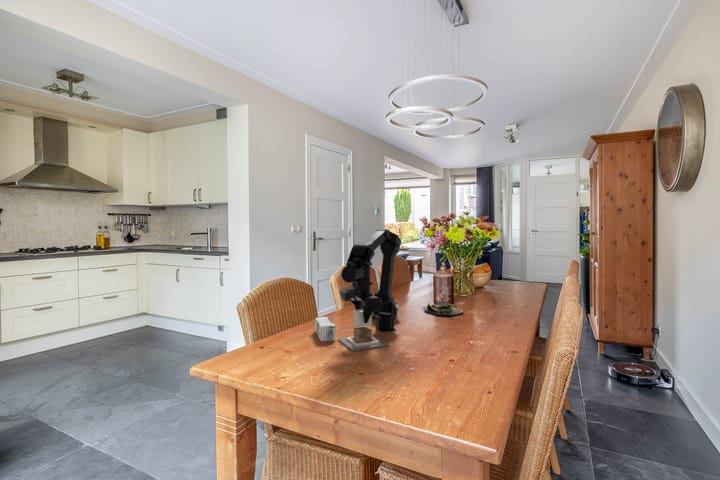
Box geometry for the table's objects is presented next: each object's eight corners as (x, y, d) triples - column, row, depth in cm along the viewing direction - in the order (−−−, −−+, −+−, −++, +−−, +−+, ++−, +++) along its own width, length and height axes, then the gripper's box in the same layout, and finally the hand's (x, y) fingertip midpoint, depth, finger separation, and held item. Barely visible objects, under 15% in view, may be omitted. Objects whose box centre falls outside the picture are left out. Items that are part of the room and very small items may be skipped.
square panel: (371, 335, 147) (371, 332, 147) (388, 346, 135) (388, 342, 134) (337, 340, 141) (337, 336, 141) (352, 351, 129) (352, 347, 129)
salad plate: (445, 306, 200) (445, 298, 200) (472, 313, 185) (472, 304, 185) (417, 311, 189) (417, 302, 189) (443, 319, 174) (443, 309, 174)
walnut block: (365, 338, 141) (365, 325, 141) (371, 342, 137) (371, 328, 136) (353, 340, 139) (353, 327, 139) (359, 344, 135) (359, 330, 134)
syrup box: (328, 330, 155) (336, 340, 141) (314, 331, 153) (321, 342, 139) (328, 316, 155) (336, 325, 141) (314, 317, 153) (321, 326, 139)
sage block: (365, 321, 141) (365, 308, 141) (371, 324, 136) (371, 311, 136) (353, 323, 139) (353, 309, 139) (359, 326, 134) (359, 312, 134)
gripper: (332, 277, 142) (333, 317, 143) (352, 284, 125) (352, 330, 126) (359, 275, 147) (359, 314, 147) (382, 281, 130) (382, 326, 131)
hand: (362, 321), depth 138 cm, fingers closed on sage block, 5 cm apart
